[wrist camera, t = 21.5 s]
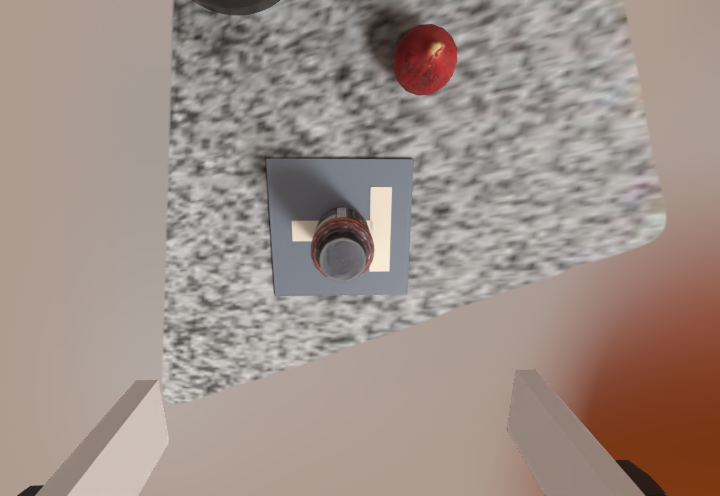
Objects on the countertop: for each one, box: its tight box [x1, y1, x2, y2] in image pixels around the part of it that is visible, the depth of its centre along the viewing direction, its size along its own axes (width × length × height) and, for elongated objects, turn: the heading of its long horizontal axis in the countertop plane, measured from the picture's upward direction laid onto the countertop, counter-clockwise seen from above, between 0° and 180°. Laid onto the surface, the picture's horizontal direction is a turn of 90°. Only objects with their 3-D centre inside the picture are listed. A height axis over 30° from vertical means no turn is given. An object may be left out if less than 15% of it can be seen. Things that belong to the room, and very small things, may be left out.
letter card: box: [266, 159, 414, 296], centre depth 40 cm, size 16×16×1 cm
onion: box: [394, 24, 457, 95], centre depth 33 cm, size 6×6×8 cm
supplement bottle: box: [311, 207, 374, 282], centre depth 35 cm, size 6×6×11 cm
